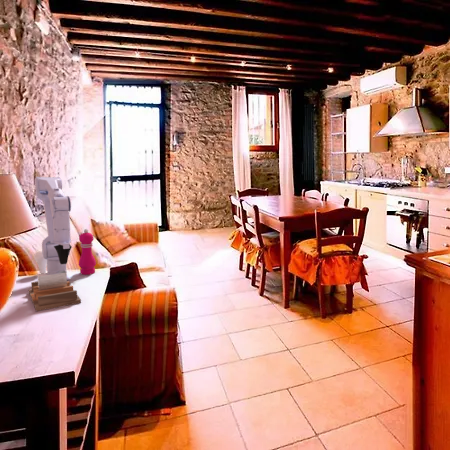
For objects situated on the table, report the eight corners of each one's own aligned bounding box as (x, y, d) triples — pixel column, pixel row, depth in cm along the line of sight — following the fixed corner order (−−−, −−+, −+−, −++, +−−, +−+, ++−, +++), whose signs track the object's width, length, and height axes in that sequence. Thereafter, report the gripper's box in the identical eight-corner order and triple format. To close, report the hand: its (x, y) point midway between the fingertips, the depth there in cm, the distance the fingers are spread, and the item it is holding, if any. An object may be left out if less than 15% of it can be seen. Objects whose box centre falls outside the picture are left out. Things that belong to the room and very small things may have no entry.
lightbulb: (32, 274, 153) (30, 250, 151) (44, 271, 158) (43, 247, 156) (40, 276, 150) (39, 251, 148) (53, 273, 155) (52, 249, 154)
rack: (28, 292, 131) (28, 282, 130) (68, 286, 139) (68, 276, 138) (36, 311, 115) (35, 299, 114) (80, 302, 123) (80, 291, 122)
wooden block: (65, 291, 130) (64, 270, 129) (67, 293, 128) (66, 272, 127) (38, 295, 125) (37, 274, 124) (40, 298, 123) (38, 276, 122)
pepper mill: (79, 271, 159) (77, 228, 156) (96, 269, 162) (94, 227, 159) (78, 275, 153) (76, 230, 149) (96, 274, 155) (94, 230, 152)
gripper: (46, 226, 135) (48, 260, 137) (53, 232, 123) (55, 269, 125) (66, 225, 139) (68, 258, 141) (74, 230, 127) (76, 267, 129)
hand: (63, 263), depth 134 cm, fingers closed
